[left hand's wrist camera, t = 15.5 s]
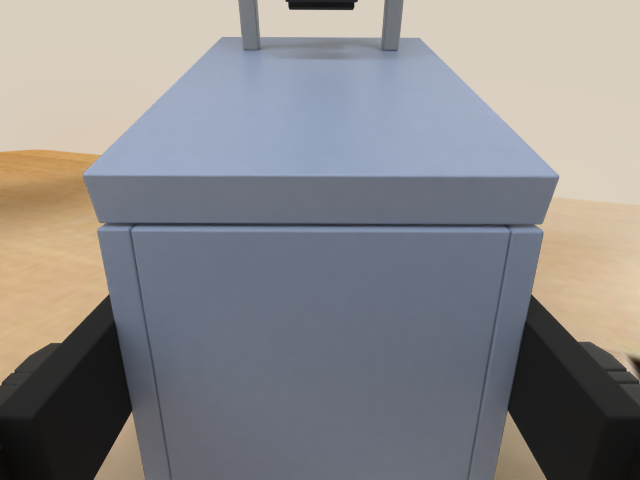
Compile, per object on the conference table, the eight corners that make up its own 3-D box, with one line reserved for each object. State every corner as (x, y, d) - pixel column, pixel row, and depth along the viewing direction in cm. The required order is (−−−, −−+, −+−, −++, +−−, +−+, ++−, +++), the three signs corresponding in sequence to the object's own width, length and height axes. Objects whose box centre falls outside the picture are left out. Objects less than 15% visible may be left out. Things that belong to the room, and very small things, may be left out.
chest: (239, 300, 26) (227, 140, 23) (400, 300, 26) (412, 140, 23) (155, 532, 13) (95, 229, 9) (483, 533, 13) (545, 230, 9)
